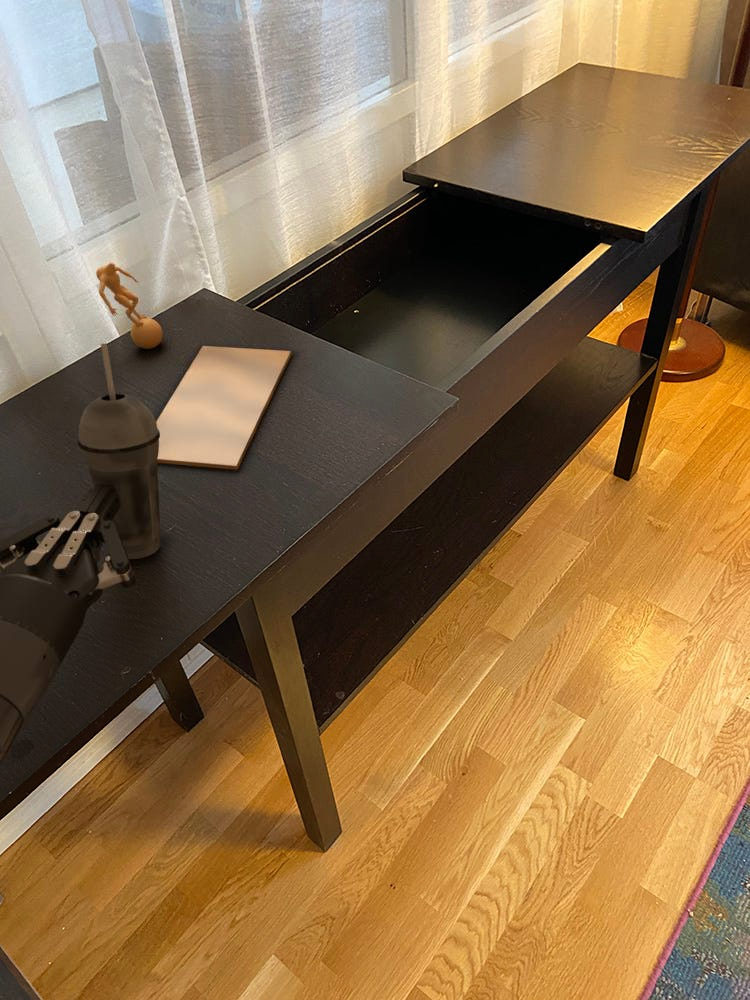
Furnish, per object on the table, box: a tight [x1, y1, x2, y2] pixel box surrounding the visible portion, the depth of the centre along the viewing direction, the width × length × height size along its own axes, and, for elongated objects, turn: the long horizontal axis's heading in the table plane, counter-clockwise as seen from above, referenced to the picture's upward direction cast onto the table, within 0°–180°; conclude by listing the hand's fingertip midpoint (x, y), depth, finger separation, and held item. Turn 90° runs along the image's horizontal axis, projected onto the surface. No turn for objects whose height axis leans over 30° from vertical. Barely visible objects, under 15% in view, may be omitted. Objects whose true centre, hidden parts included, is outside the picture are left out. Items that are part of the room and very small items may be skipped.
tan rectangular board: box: [155, 345, 292, 471], centre depth 94 cm, size 22×12×1 cm, turn 169°
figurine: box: [95, 262, 163, 350], centre depth 100 cm, size 8×6×12 cm
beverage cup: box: [77, 342, 161, 560], centre depth 72 cm, size 7×7×20 cm
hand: (108, 491), depth 71 cm, fingers closed
